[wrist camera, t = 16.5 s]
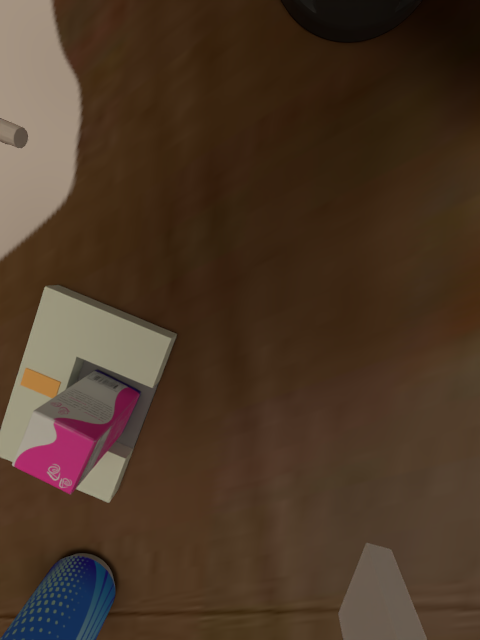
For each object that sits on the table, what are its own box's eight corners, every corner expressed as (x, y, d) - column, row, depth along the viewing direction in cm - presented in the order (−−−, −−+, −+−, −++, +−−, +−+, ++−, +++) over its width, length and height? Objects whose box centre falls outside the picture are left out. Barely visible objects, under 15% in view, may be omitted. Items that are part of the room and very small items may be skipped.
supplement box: (76, 412, 43) (7, 466, 31) (96, 367, 42) (32, 406, 30) (122, 436, 43) (69, 497, 31) (143, 391, 42) (96, 438, 30)
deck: (177, 334, 41) (170, 339, 38) (118, 489, 44) (108, 504, 41) (58, 285, 41) (43, 286, 38) (8, 443, 44) (-9, 454, 42)
